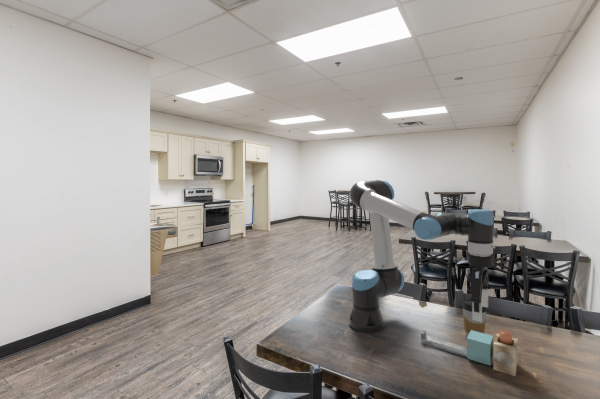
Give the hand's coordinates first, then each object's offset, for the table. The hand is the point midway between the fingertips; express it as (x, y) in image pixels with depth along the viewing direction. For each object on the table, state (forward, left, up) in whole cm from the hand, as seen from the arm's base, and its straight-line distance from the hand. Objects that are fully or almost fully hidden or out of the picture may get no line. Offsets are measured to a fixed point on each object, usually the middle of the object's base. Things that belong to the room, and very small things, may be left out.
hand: (480, 313), depth 106 cm
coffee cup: (-4, +13, -17) cm, 22 cm away
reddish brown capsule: (+7, 0, -8) cm, 11 cm away
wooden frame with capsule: (+7, 0, -17) cm, 18 cm away
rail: (-7, 0, -17) cm, 18 cm away
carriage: (0, 0, -17) cm, 17 cm away
